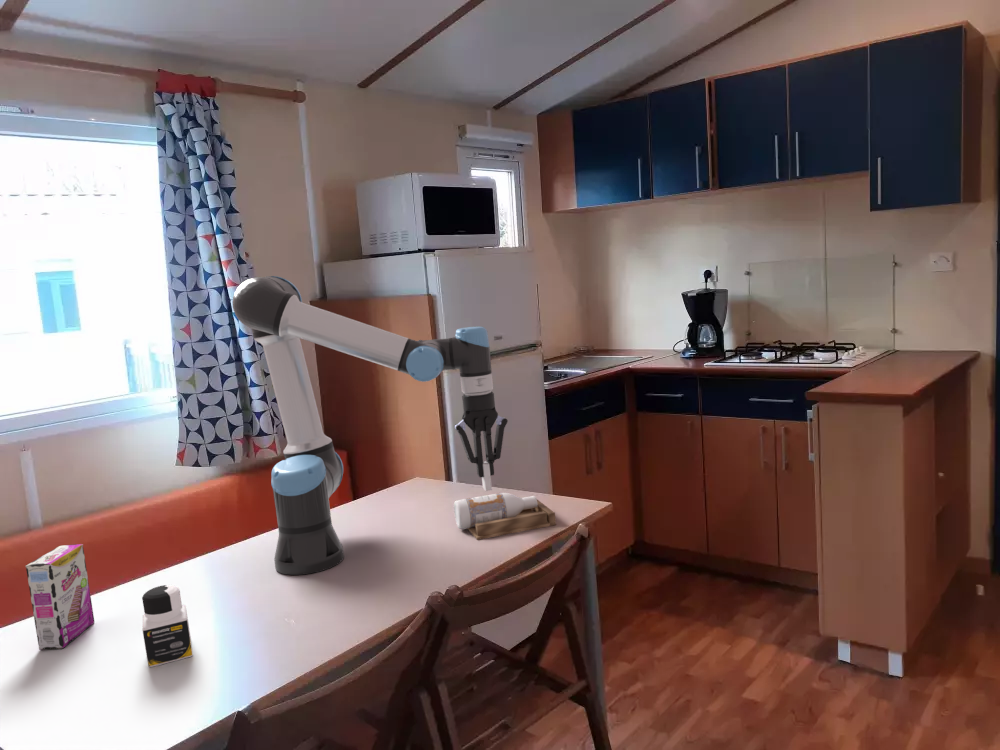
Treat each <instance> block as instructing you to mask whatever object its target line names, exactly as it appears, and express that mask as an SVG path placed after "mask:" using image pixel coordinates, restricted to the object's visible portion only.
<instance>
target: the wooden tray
mask: <svg viewBox="0 0 1000 750" xmlns="http://www.w3.org/2000/svg"><path fill="white" fill-rule="evenodd" d="M556 525H557V524H556V512H554V511H553V510H552V509H550V508H549V507H548V506H546V505H545V504H544V503H543V502H542V501H540V500H539V499H537V507H536V508H531V509H525V510H522V511H521V512H520V513H519V514H518V515H517V516H516V517H510V518H505V519H500V520H494V521H489V522H483V523H478V524H475V526H476V527H472V528H466V529H467V531H469V533H470V534H471V535H472V536H473V537H474V539H475V540H476V541H478V540H484V539H489V538H494V537H495V538H496V537H500V536H505V535H509V534H510V535H511V534H516V533H520V532H522V533H523V532H526V531H530V530H536V529H542V528H548V527H553V526H556Z"/></svg>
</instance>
